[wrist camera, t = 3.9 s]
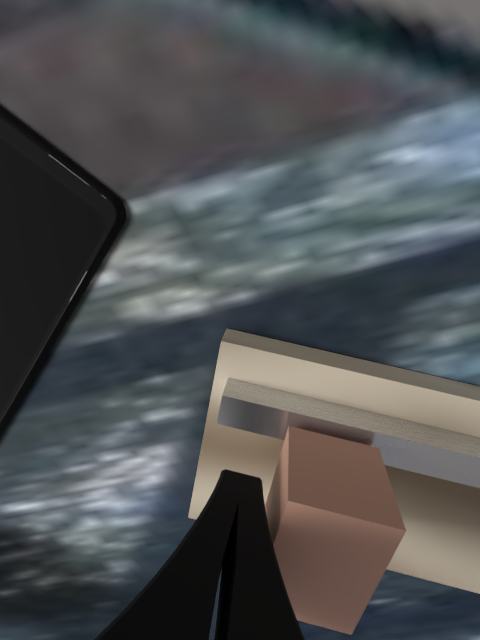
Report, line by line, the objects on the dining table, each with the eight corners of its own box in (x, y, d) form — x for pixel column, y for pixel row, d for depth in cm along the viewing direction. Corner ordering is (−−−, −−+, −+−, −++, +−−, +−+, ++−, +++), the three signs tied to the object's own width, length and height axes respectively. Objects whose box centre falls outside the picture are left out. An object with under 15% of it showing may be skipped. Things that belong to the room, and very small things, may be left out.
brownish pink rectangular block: (333, 517, 15) (348, 639, 11) (261, 499, 15) (251, 612, 11) (371, 424, 13) (406, 530, 9) (288, 404, 13) (288, 500, 9)
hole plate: (622, 606, 16) (649, 640, 15) (194, 495, 17) (187, 519, 16) (771, 453, 13) (821, 481, 11) (226, 328, 14) (220, 342, 13)
